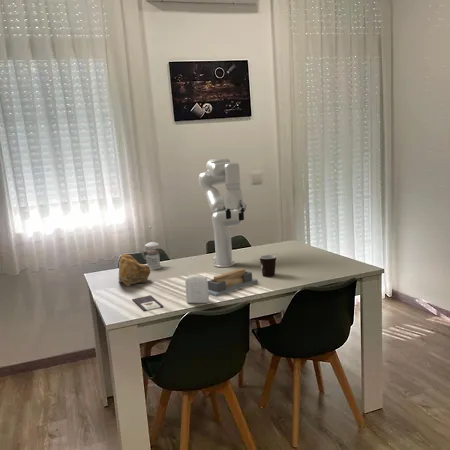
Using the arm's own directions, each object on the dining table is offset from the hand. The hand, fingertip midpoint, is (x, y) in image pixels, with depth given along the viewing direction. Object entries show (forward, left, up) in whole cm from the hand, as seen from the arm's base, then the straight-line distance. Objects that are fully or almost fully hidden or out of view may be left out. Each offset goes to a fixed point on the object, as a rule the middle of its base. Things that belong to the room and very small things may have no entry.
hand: (234, 219), depth 240 cm
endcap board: (+12, -17, -30) cm, 37 cm away
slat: (+12, -17, -29) cm, 36 cm away
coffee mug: (+13, +10, -30) cm, 34 cm away
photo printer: (+16, -41, -30) cm, 53 cm away
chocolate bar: (-1, -57, -31) cm, 65 cm away
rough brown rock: (-36, -42, -31) cm, 63 cm away
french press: (-54, -19, -30) cm, 65 cm away
